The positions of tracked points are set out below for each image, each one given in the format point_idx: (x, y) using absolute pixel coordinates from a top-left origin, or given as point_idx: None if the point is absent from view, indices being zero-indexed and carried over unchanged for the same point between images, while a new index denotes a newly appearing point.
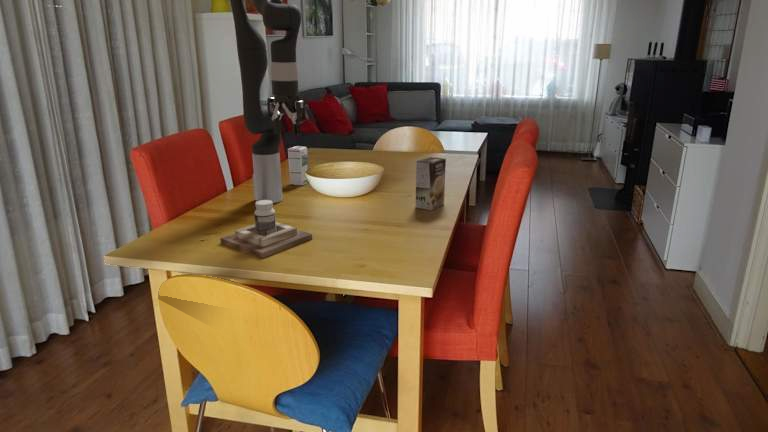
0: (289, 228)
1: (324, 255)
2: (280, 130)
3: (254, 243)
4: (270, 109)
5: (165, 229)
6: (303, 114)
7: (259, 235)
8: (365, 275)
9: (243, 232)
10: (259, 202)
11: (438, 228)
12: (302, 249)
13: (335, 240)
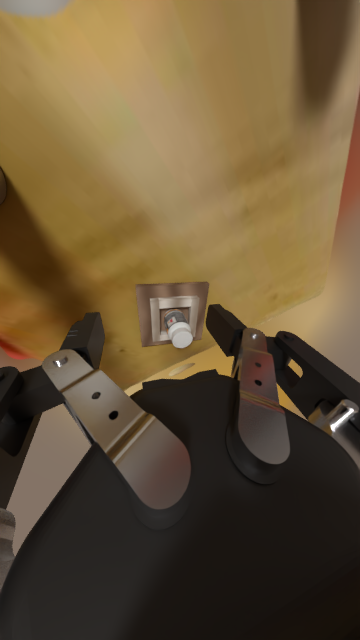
0: (193, 304)
1: (239, 302)
2: (98, 319)
3: None
4: (18, 465)
5: None
6: (310, 362)
7: None
8: (281, 307)
9: (164, 339)
10: (178, 343)
11: (339, 130)
12: None
13: (230, 268)
